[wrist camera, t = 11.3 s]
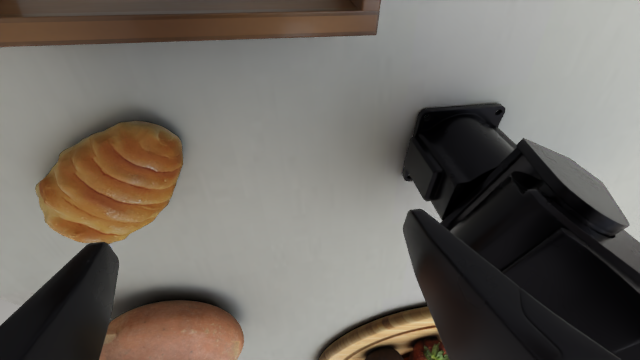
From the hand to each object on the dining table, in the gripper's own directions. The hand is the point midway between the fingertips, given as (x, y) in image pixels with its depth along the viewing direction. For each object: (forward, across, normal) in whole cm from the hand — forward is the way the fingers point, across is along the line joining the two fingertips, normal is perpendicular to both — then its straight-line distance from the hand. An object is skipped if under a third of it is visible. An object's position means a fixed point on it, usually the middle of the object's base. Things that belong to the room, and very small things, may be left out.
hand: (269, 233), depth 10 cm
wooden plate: (+12, -20, +50) cm, 55 cm away
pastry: (+12, +10, +6) cm, 17 cm away
